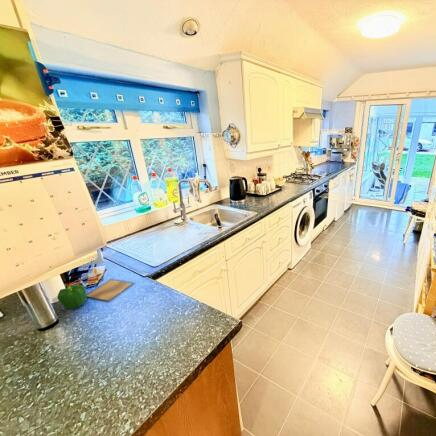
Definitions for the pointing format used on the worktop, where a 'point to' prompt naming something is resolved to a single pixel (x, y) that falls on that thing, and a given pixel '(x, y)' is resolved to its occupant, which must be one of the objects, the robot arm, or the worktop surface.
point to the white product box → (98, 260)
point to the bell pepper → (72, 296)
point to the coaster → (109, 290)
